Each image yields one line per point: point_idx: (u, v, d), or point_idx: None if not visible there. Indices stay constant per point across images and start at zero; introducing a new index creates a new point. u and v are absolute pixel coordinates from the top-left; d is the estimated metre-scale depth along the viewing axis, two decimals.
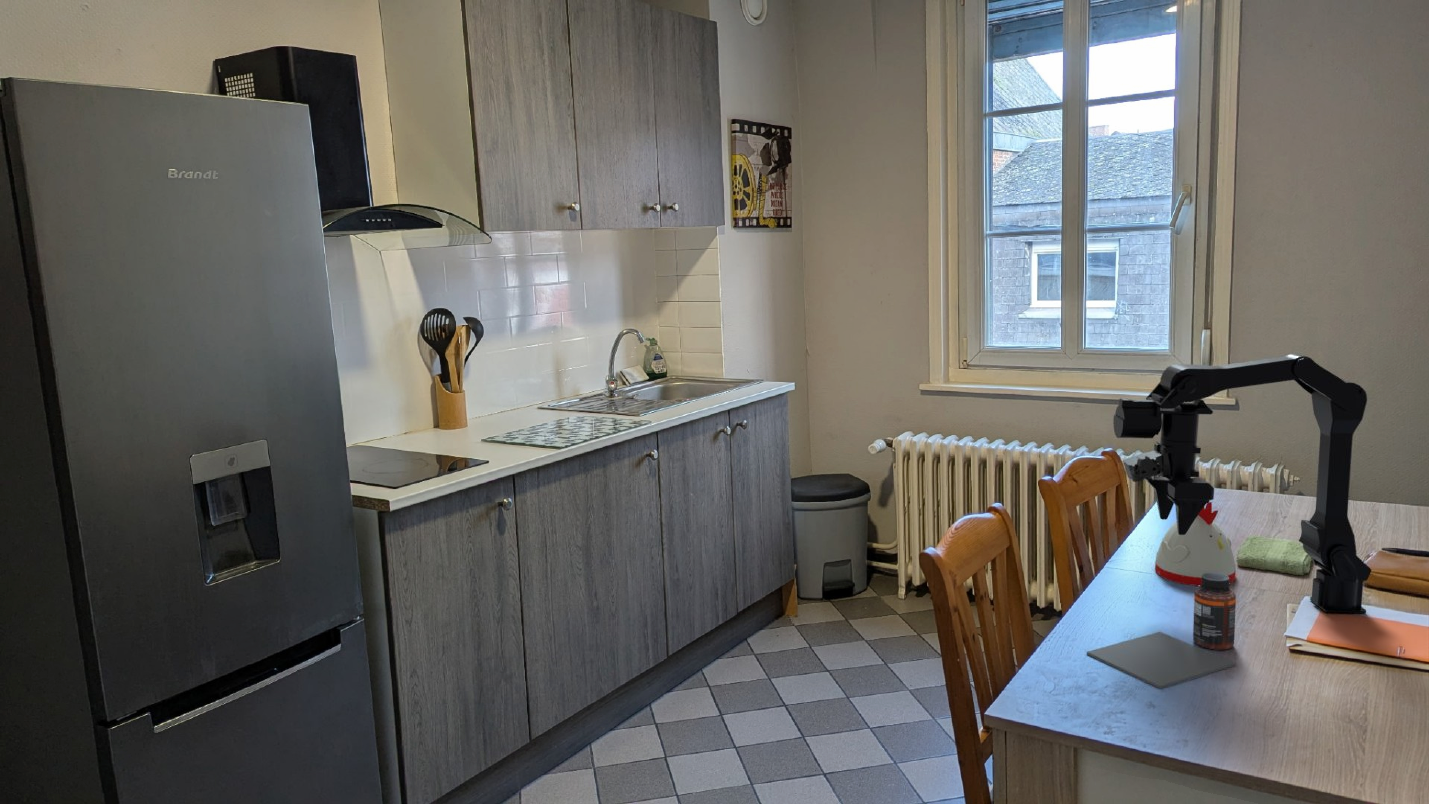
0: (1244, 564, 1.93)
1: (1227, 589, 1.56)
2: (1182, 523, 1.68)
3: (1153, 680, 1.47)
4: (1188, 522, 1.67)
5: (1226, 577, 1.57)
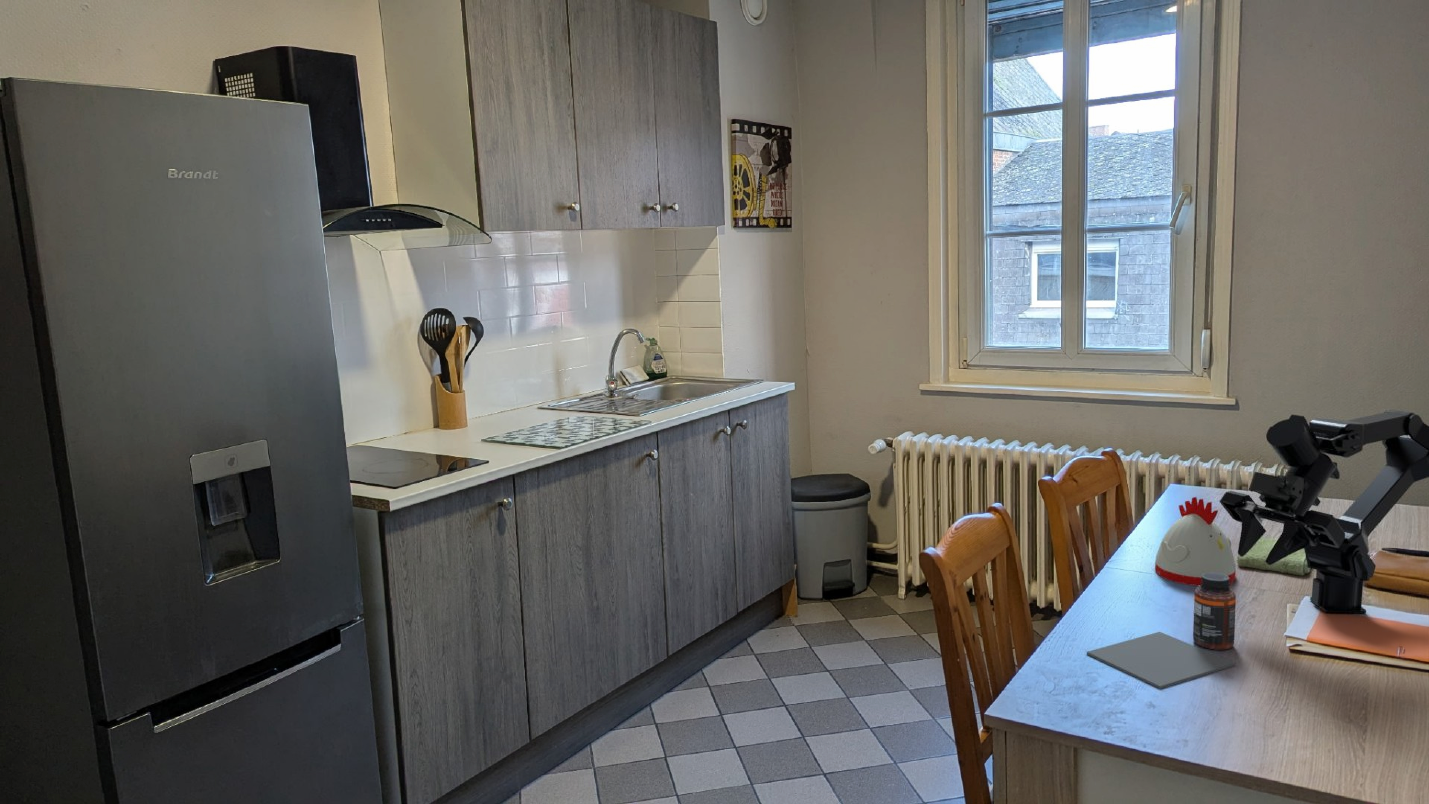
0: (1244, 564, 1.93)
1: (1227, 589, 1.56)
2: (1278, 552, 1.58)
3: (1153, 680, 1.47)
4: (1282, 554, 1.59)
5: (1226, 577, 1.57)
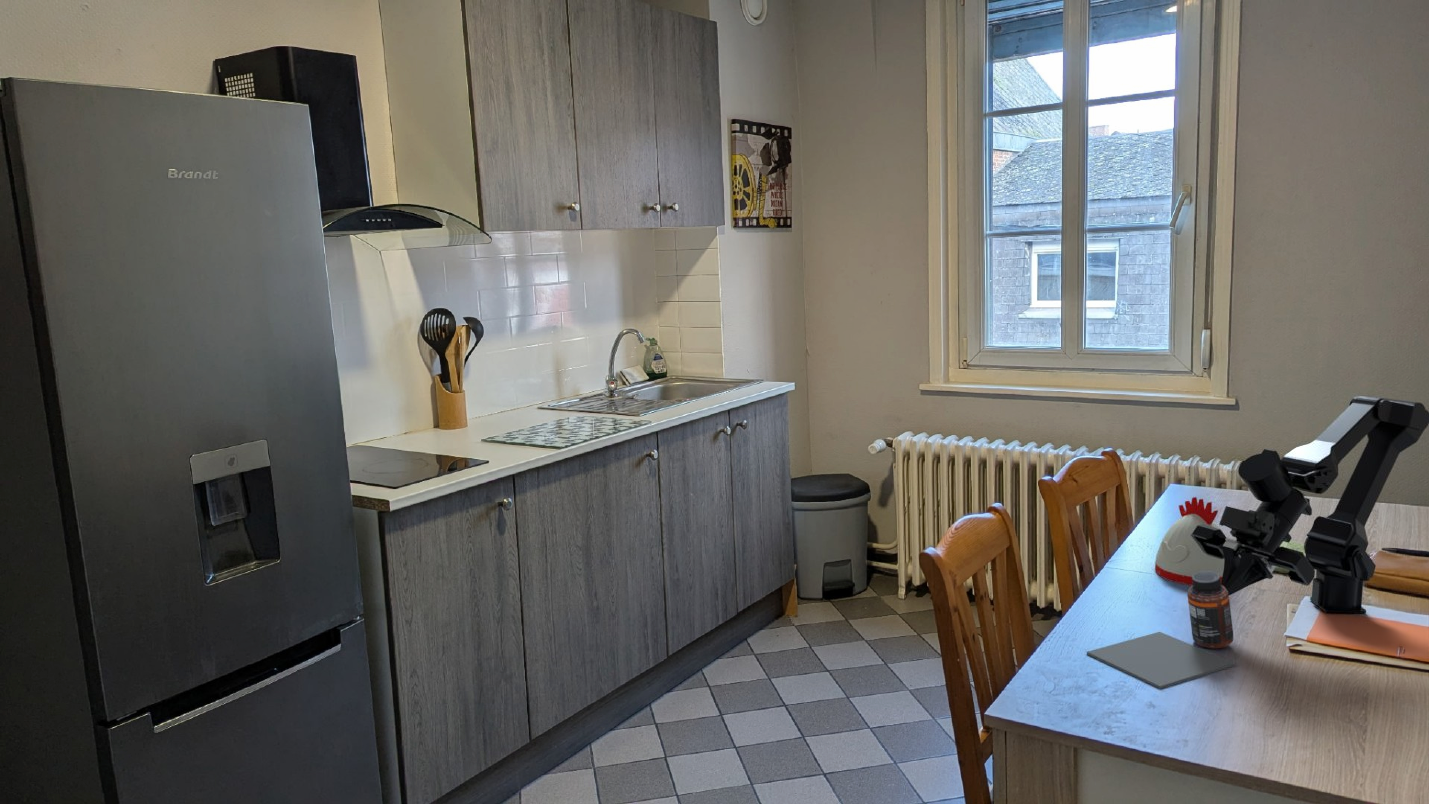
0: None
1: (1219, 589, 1.55)
2: (1234, 584, 1.58)
3: (1153, 680, 1.47)
4: (1238, 586, 1.59)
5: (1216, 576, 1.56)
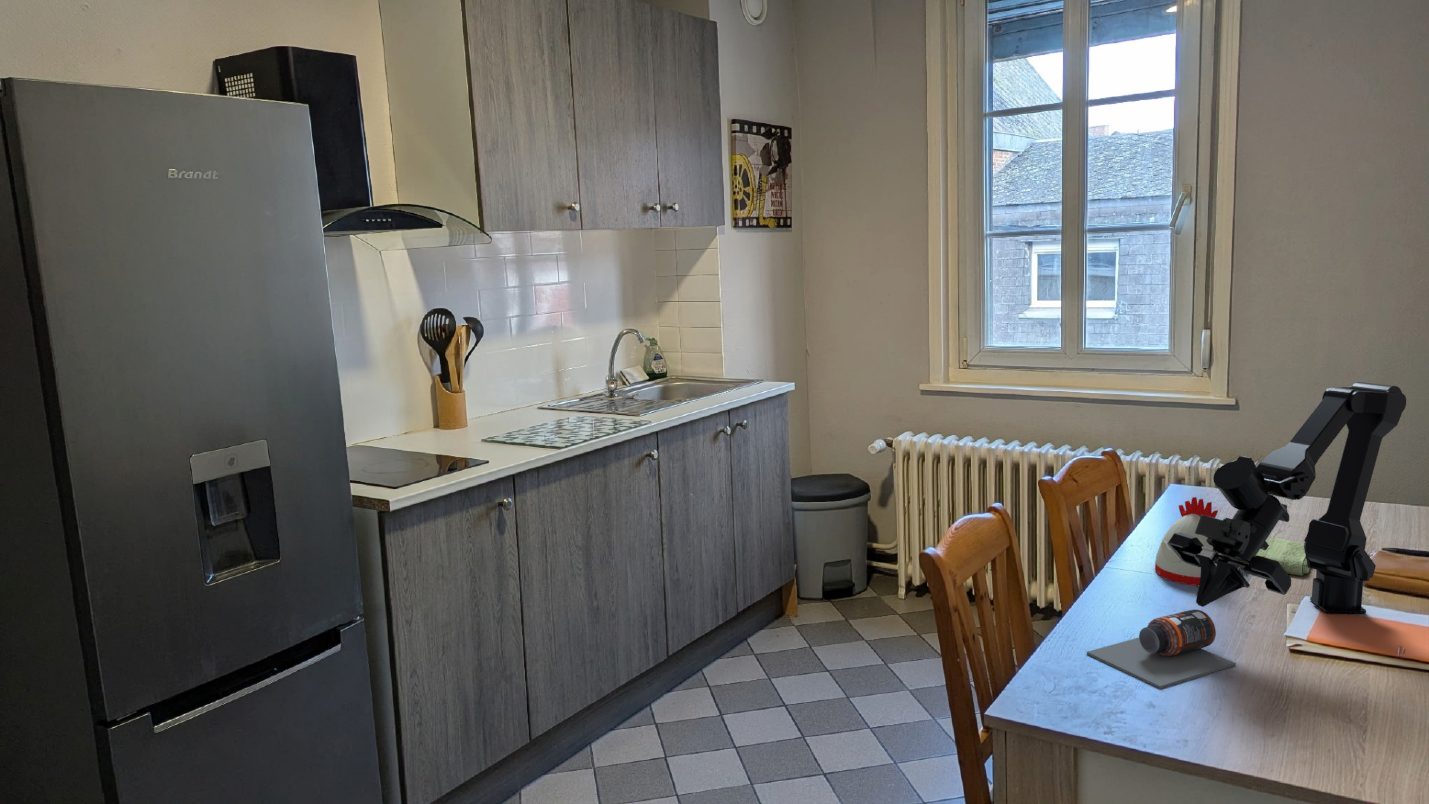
0: None
1: (1167, 641, 1.52)
2: (1211, 594, 1.56)
3: (1153, 680, 1.47)
4: (1215, 596, 1.57)
5: (1155, 638, 1.52)
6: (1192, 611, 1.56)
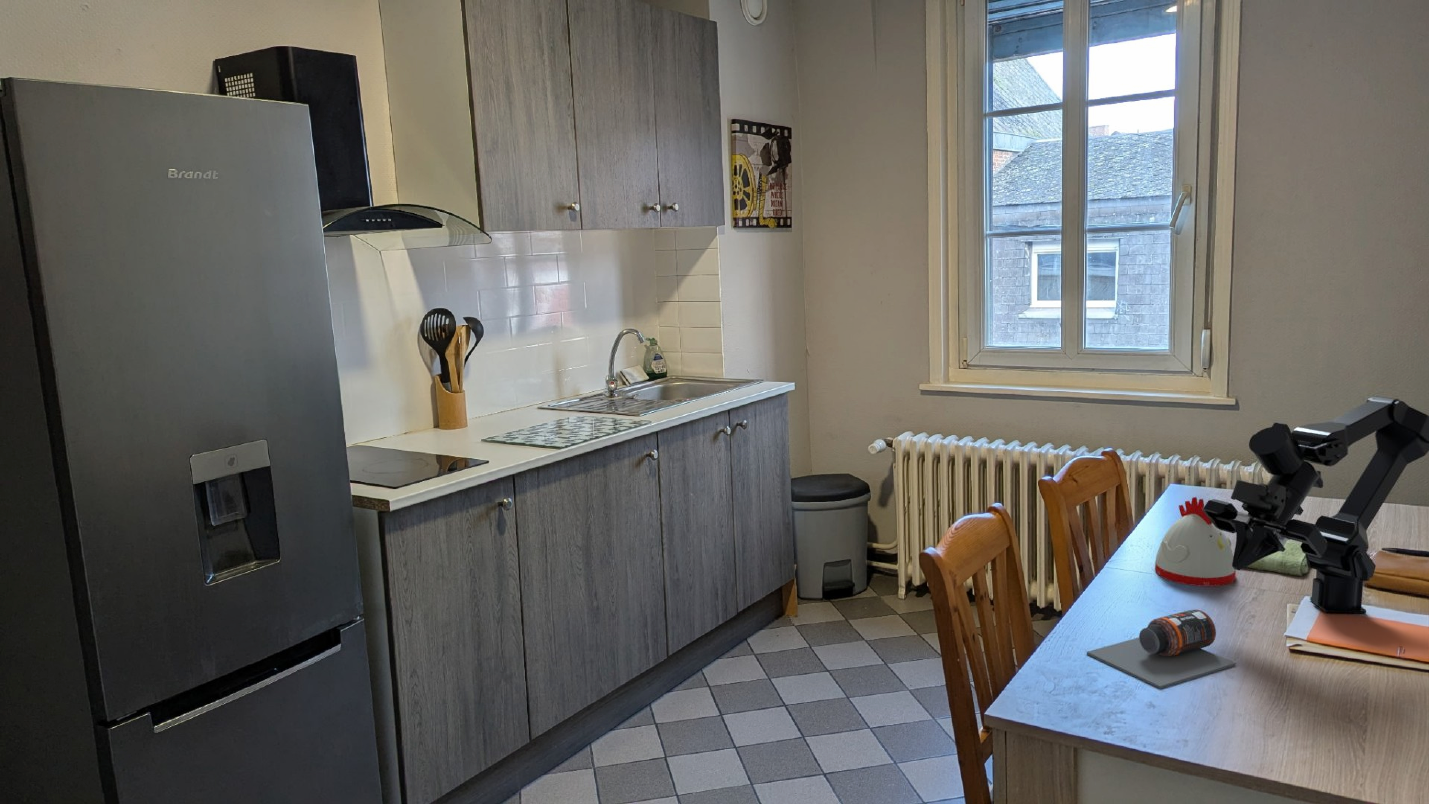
0: None
1: (1167, 641, 1.52)
2: (1247, 558, 1.59)
3: (1153, 680, 1.47)
4: (1251, 560, 1.59)
5: (1155, 638, 1.52)
6: (1193, 612, 1.56)
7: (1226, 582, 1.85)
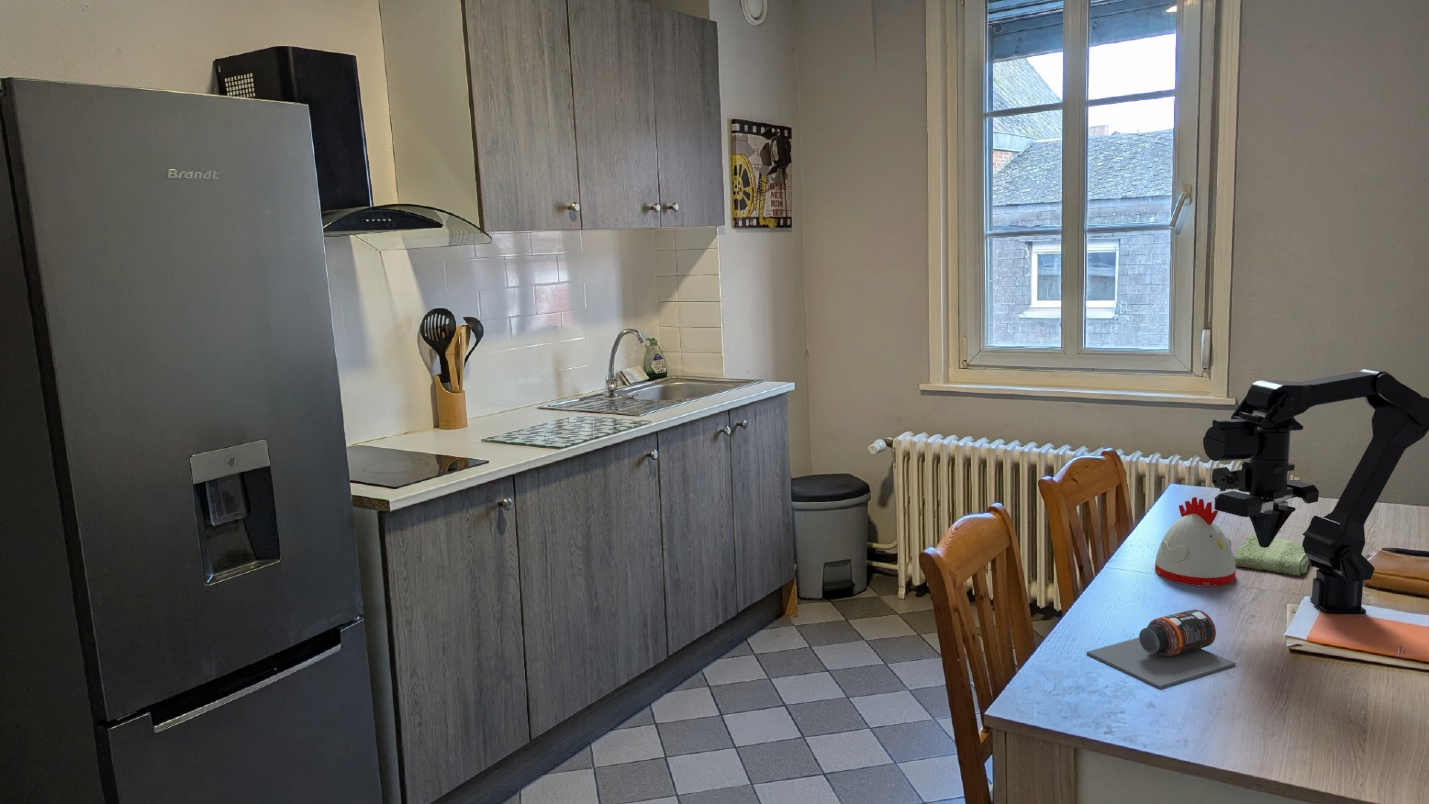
0: (1241, 564, 1.94)
1: (1167, 641, 1.52)
2: (1259, 535, 1.68)
3: (1153, 680, 1.47)
4: (1263, 534, 1.67)
5: (1155, 638, 1.52)
6: (1193, 612, 1.56)
7: (1226, 582, 1.85)
